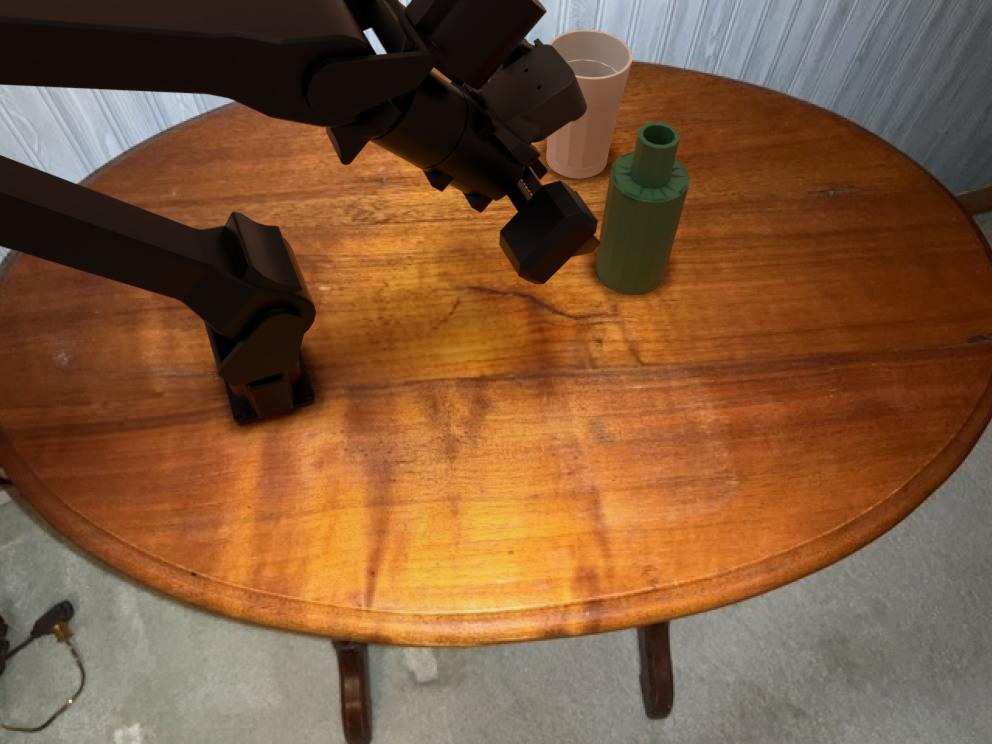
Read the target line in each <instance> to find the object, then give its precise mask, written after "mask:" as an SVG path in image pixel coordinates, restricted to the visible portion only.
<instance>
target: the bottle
mask: <svg viewBox="0 0 992 744" xmlns="http://www.w3.org/2000/svg"><path fill="white" fill-rule="evenodd" d="M679 144H680V132H679V131H678V130H677V129H676V128H675V126H673V125H670V124H668V123H666V122H661V121H660V122H659V121H651V122H647V123H644V124H643V125H641V127H639V129H638V130H637V134H636V140H635V146H634V150H632V151H630V152H626V153H624V154H622V155H620V156H619V157H617V159H616V160H615V161H614V162H613V163H612V164H611V168H610V172H609V179H608V184H607V189H606V190H607V191H606V197H605V204H604V209H603V214H602V215H603V216H602V220H601V228H600V233H599V238H598V240H599V241H600V245H599V246H598V247H597V249H596V257H595V266H594V267H595V273H596V275H597V276H598V277H597V278H599V280H600V281H601V282H602V283H603V284H604V285H605V286H606V287H608V288H609V289H611V290H613V291H615V292H618V293H621V294H626V295H641V294H642V295H643V294H646V293H649V292H651V291H653V290H656V288H658V287H659V286H660V285H661V284H662V282H663V281H664V279H665V276H666V272H667V269H668V265H669V262H670V259H671V258H670V257H671V254H672V250H673V247H674V243H675V240H676V235H677V231H678V228H679V224H680V221H681V217H682V214H683V209H684V205H685V201H686V198H687V194H688V191H689V187H690V180H691V176H690V174H689V172H688V170H687V168H686V166H685V165H684V164H683V163H682V162H680V160H678V159H677V158H676V157H677V152H678V149H679Z"/></svg>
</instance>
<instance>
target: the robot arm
mask: <svg viewBox="0 0 992 744" xmlns="http://www.w3.org/2000/svg"><path fill="white" fill-rule="evenodd" d="M547 12H548V11H547V9H546V7H545V6H544V5H543V4H542V2H541V1H540V0H410V1H409V3H407V5H405V4H403V3H402V2H401V1H400V0H0V86H15V87H18V86H19V87H39V88H40V87H41V88H61V89H80V90H81V89H83V90H102V91H103V90H104V91H105V90H106V91H128V92H146V93H147V92H149V93H172V94H191V95H192V94H193V95H209V96H213V97H218V98H223V99H229V100H231V101H234V102H236V103H238V104H241V105H243V106H244V107H247V108H249V109H251V110H253V111H256V112H258V113H260V114H262V115H265V116H266V117H268V118H271V119H276V120H281V121H287V122H291V123H292V122H293V123H298V124H303V125H308V126H313V127H319V128H325V133H326V135H327V138H328V139H329V142H330V144H331V145H332V147H333V149H334V151H335V153H336V156H337V157H338V159H339V162H340V163H341V165H343V166H349V165H351V164H352V163H353V162H354V160H355V159H356V158H357V157H358V155H359V154H360V153H361V152H362V151H363V149H364V148H365V147H366V145H368V143H369V142H371V143H373V144H374V145H376V146H378V147H380V148H382V149H384V150H386V151H387V152H389V153H390V154H393V155H395V156H396V157H398V158H400V159H402V160H404V162H407V163H409V164H412V165H413V166H415V167H416V168H418V169H420V170H421V171H422V172H423V174H424V176H425V177H426V179H427V181H428V182H429V184H430V186H431V187H432V188H433V189H436V190H437V191H439V192H441V193H443V192H444V191H445V190H446V189H447V188H448V186H451V187H452V188H454V189H456V190H458V191H460V192H461V193H462V195H463V196H464V198H465V199H466V201H467V203H468V204H469V206H470V207H471V208H472V209H473V210H475V211H477V212H479V213H480V214H482V213H483V211H485V209H486V208H487V207H488V206H489V205H490V204H491V203H492V202H493V201H494V202H498V201H500V200H502V199H503V198H505V197H507V198H508V199H509V200H510V202H511V204H512V205H513V206H514V208H515V211H516V213H515V214H514V215H513V216H512V217H511V218H510V219H509V221H507V223H506V224H505V225H504V226H503V227H502V228H501V229H500V230H499V238H498V240H499V241H498V245H499V247H500V248H501V251H502V252H503V253H504V255H505V256H506V258H507V260H508V261H509V263H510V265H511V266H512V268H513V269H514V271H515V272H516V274H517V276H518V278H521V279H523V280H525V281H527V282H529V283H532V284H533V285H545V284H546V283H547V282H548V281H549V280H550V279H551V278H552V277H553V276H554V275H555V274H556V273H557V272H558V271H559V270H560V269H561V268H562V267H563V266H564V265H566V263H568V261H569V260H570V259H571V258H574V257H579V256H585V255H588V254H589V255H590V254H592V253H593V252H594V251H595V250H597V249H598V246H599V245H600V241H599V238H598V237H596V235H595V234H596V233H597V229H598V223H599V220H598V219H597V217H596V216H595V215H594V214H593V211H592V210H591V209H590V208H589V206H588V205H587V203H586V202H585V201H584V200H583V198H582V197H581V195H580V194H579V193H578V191H577V190H574V189H573V188H572V187H571V186H570V185H568V184H567V183H566V182H564V181H562V180H560V179H559V180H556V181H552V182H548V183H545V184H543V183H542V181H541V180H542V179H543V178H544V177H545V176H546V175H547V174H548V172H549V171H548V168H547V166H545V164H544V163H543V162H542V161H541V159H540V158H539V157H541V155H542V153H541V152H540V151H539V149H538V148H537V147H536V146H535V145H534V143H535V144H537V143H540V142H542V141H544V140H546V139H547V137H548V136H550V135H551V134H553V133H554V132H556V131H557V130H559V129H560V128H562V127H563V126H565V125H566V124H568V123H569V122H571V121H576V120H578V119H579V118H580V117H582V116H583V115H584V114H585V112H586V110H587V103H586V101H585V98H584V96H583V93H582V91H581V88H580V86H579V83H578V81H577V78H576V76H575V73H574V71H573V70H572V68H571V67H570V66H569V65H568V64H567V62H566V61H565V60H564V59H563V58H562V56H561V55H560V54H559V53H558V52H557V51H556V49H555V48H554V47H553V46H551V45H549V43H543V42H542V41H541V40H540V38H539V37H537V38H535V39H534V40H533V43H534V44H532V43H530V42H529V41H528V39H526V37H527V36H528V35H529V33H530V32H531V31H532V30H533V29H534V28H535V26H536V25H537V24H538V23H539V21H540V20H542V18H543V17H544V16H545V15H546V13H547ZM370 29H371V30H372V32H373V33H374V35H375V37H376V39H377V40H378V42H379V43H380V45H381V47H382V49H383V50H384V52H385V53H379V54H378V53H377V52H376V50H375V49H374V47H373V46H372V44H371V42H370V40H369V38H368V37H367V35H366V34H365V31H367V30H370ZM433 69H435V70H437V71H438V72H439V73H440V74H442V75H443V76H444V77H445V78H446V79H448V80H449V81H450V82H449V81H447V80H446V79H444V77H442V76H440V75H439V74H438V73H436V72H435V71H433ZM0 248H4V249H7V250H10V251H13V252H18V253H21V254H23V255H24V254H25V255H28V256H31V257H34V258H38V259H41V260H44V261H47V262H50V263H54V264H58V265H61V266H64V267H67V268H70V269H74V270H77V271H80V272H84V273H86V274H90V275H94V276H97V277H101V278H103V279H108V280H111V281H114V282H117V283H121V284H124V285H126V286H127V285H128V286H130V287H133V288H137V289H141V290H144V291H147V292H150V293H153V294H157V295H160V296H163V297H166V298H170V299H173V300H176V301H178V302H181V304H183V305H185V306H186V307H187V308H188V309H189V310H191V311H192V312H193V313H194V314H195V315H197V317H199V318H200V319H201V320H202V321H203V324H204V327H205V330H206V336H207V339H208V341H209V345H210V349H211V353H212V355H213V359H214V363H215V365H216V370H217V373H218V376H219V377H220V378H222V379H223V382H224V386H225V391H226V394H227V398H228V402H229V405H230V409H231V415H232V417H233V420H234V423H235V424H236V425H238V426H242V425H246V424H250V423H253V422H255V421H259V420H263V419H267V418H271V417H275V416H277V415H281V414H284V413H286V412H290V411H292V410H295V409H298V408H302V407H305V406H308V405H311V404H313V403H315V401H316V398H317V397H316V394H315V391H314V388H313V385H312V382H311V379H310V375H309V373H308V369H307V367H306V364H305V361H304V358H303V354H302V352H301V348H302V344H303V340H304V336H305V334H306V333H307V332H309V330H310V329H311V327H312V326H313V324H314V323H315V320H316V316H317V312H316V311H317V309H316V305H315V303H314V300H313V298H312V295H311V293H310V289H309V287H308V285H307V282H306V279H305V277H304V274H303V272H302V269H301V267H300V264H299V262H298V259H297V257H296V254H295V251H294V249H293V247H292V245H291V243H290V241H288V240H287V239H286V238H284V236H283V234H282V232H281V229H280V226H279V225H271V224H270V225H269V224H263V223H259V222H257V221H256V220H253V219H251V218H250V217H248V216H247V215H245V214H244V213H242V212H239V211H231V212H230V214H229V216H228V217H227V220H226V222H225V224H223V225H219V226H212V227H207V228H202V229H201V228H196V227H192V226H189V225H187V224H184V223H181V222H178V221H176V220H173V219H171V218H168V217H166V216H163V215H160V214H158V213H155V212H152V211H149V210H147V209H144V208H142V207H139V206H137V205H134V204H131V203H129V202H126V201H123V200H120V199H118V198H115V197H113V196H110V195H107V194H105V193H103V192H99V191H97V190H95V189H91V188H89V187H86V186H84V185H81V184H78V183H76V182H73V181H70V180H67V179H65V178H62V177H60V176H57V175H54V174H52V173H49V172H47V171H44V170H41V169H38V168H36V167H33V166H31V165H28V164H26V163H23V162H20V161H17V160H15V159H12V158H9V157H7V156H4V155H2V154H0ZM308 397H309V398H308Z"/></svg>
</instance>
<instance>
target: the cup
mask: <svg viewBox="0 0 992 744" xmlns="http://www.w3.org/2000/svg"><path fill="white" fill-rule="evenodd" d="M548 44H549V45H551V46H553V47H554V48H555V49H556V51H557V52H558V53H559V54H560V55H561V56H562V58H563V59H564V60H565V61H566V62H567V64H568V65H569V66H570V67H571V68H572V70H573V71H574V73H575V76H576V78H577V81H578V83H579V86H580V88H581V91H582V93H583V96H584V98H585V101H586V103H587V110H586V112H585V114H584V115H583V116H582V117H580V118H579V119H578V120H576V121H571V122H569V123H568V124H566V125H565V126H563V127H562V128H560V129H559V130H557V131H556V132H554V133H553V134H551V135H550V136H548V137H547V138H546V154H545V159H546V163H547V165H548V166H549V168H550V169H551V170H552V171H554V172H555V173H556V174H558V175H560V176H563V177H565V178H570V179H578V180H579V179H580V180H581V179H588V178H592V177H594V176H597V175H599V174H600V173H602V172H603V171H604V169H605V168H606V167H607V163H608V159H609V151H610V149H611V145H612V140H613V136H614V132H615V128H616V125H617V119H618V116H619V112H620V109H621V104H622V101H623V97H624V92H625V90H626V89H625V88H626V86H627V85H626V84H627V81H628V78H629V74H630V70H631V66H632V64H633V60H634V59H633V57H634V56H633V51H632V49H631V48H630V46H629V45H628V43H626V42H625V41H624V40H622V39H621V38H619V37H618V36H616V35H614V34H611V33H608V32H605V31H601V30H598V29H597V30H596V29H574V30H569V31H565V32H563V33H561V34H558V35H557V36H555V37H554V38H552V39H551V40H550V41H549V42H548Z"/></svg>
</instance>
